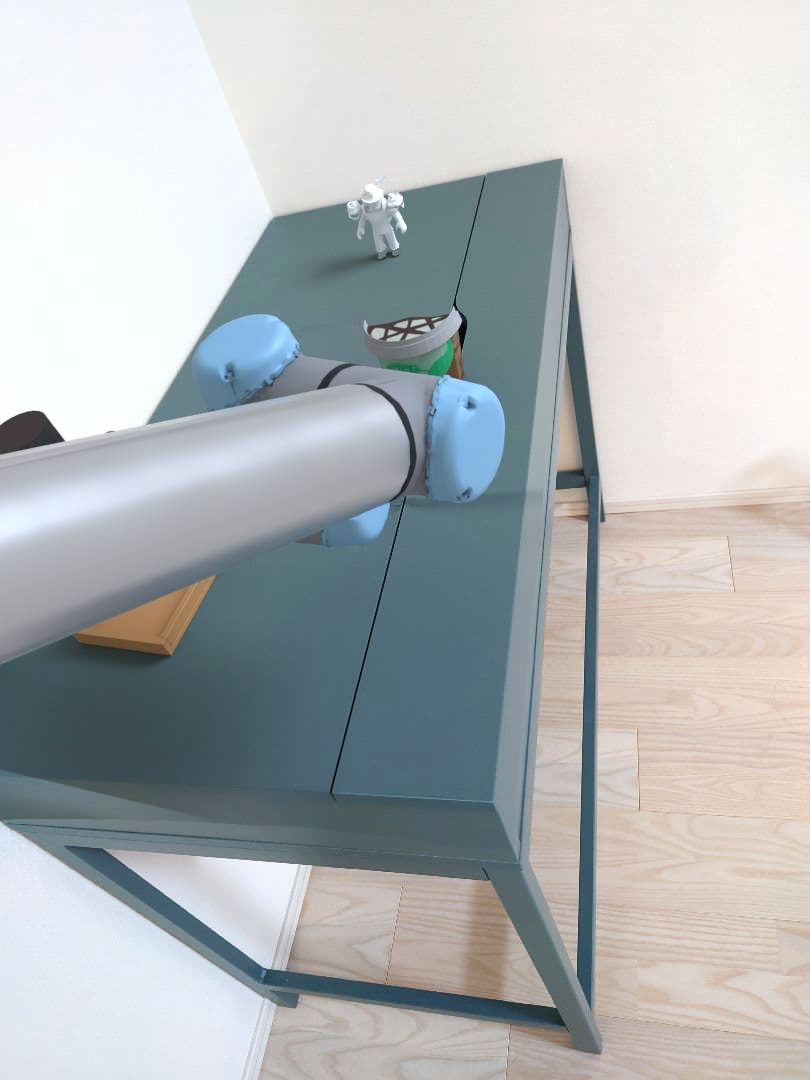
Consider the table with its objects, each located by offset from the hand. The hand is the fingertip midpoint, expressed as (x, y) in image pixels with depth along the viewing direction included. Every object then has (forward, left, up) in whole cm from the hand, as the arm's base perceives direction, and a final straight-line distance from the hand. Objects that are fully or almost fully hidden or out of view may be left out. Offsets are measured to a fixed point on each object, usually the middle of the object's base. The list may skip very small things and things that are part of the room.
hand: (21, 485), depth 79 cm
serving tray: (0, -5, -18) cm, 19 cm away
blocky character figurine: (+70, -10, -18) cm, 73 cm away
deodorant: (0, -5, -8) cm, 10 cm away
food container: (+35, -27, -18) cm, 48 cm away
